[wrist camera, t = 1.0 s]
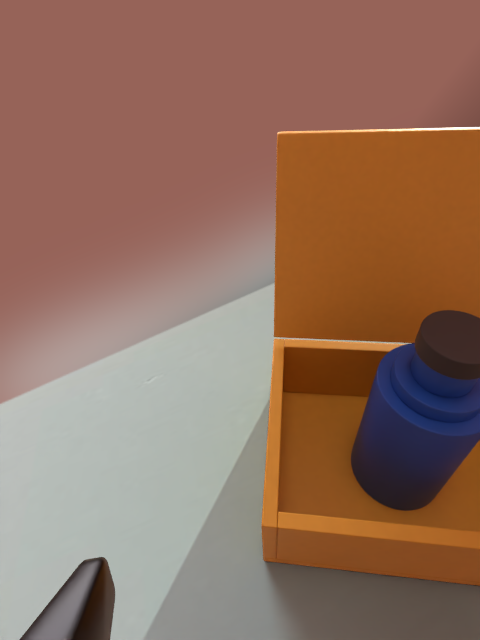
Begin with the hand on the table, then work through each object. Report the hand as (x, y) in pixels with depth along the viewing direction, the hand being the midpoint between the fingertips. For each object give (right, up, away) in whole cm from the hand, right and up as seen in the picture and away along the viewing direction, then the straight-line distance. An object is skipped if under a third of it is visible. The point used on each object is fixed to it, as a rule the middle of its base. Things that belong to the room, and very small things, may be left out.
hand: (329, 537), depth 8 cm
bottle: (+8, -5, +16) cm, 18 cm away
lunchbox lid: (+8, +8, +12) cm, 17 cm away
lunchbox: (+8, -5, +16) cm, 19 cm away
